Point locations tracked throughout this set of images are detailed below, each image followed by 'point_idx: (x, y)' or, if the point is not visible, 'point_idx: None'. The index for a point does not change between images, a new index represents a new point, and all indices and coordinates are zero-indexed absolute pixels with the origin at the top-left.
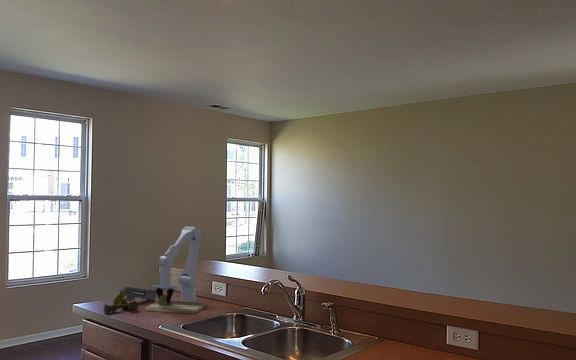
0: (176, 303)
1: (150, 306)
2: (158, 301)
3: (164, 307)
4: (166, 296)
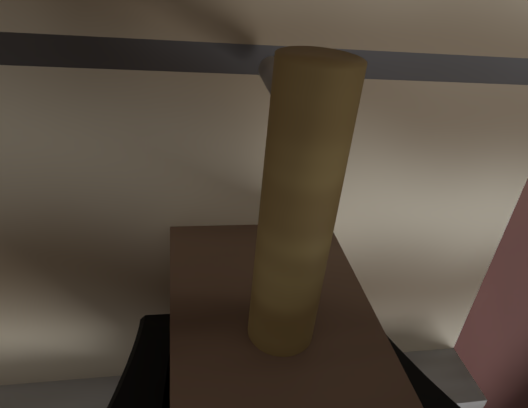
0: (36, 397)
1: (501, 121)
2: (337, 53)
3: (144, 96)
4: None
